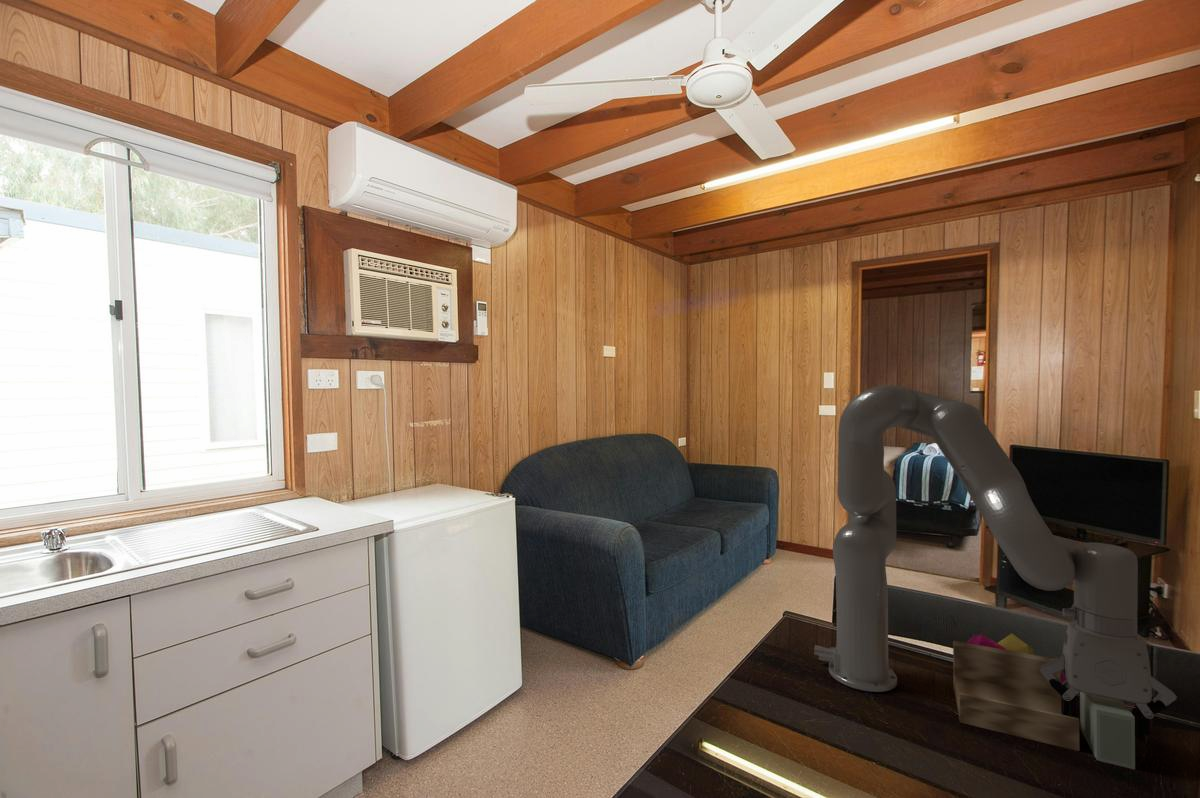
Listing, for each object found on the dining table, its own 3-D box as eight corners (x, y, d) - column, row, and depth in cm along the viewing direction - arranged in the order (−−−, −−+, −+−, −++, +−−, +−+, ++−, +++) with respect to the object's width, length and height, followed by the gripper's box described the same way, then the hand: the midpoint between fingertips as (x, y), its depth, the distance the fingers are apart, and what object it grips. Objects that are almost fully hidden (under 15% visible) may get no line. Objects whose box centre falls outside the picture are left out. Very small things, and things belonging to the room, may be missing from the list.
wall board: (960, 722, 94) (959, 671, 94) (953, 686, 106) (953, 640, 106) (1079, 751, 86) (1078, 695, 86) (1057, 708, 98) (1057, 659, 98)
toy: (1082, 710, 99) (1083, 651, 103) (978, 673, 102) (983, 618, 106) (1044, 703, 108) (1046, 650, 112) (950, 669, 112) (954, 619, 115)
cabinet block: (1097, 760, 84) (1096, 709, 84) (1080, 729, 92) (1079, 683, 92) (1135, 770, 82) (1134, 717, 82) (1114, 737, 90) (1114, 689, 90)
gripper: (1041, 618, 88) (1040, 725, 88) (1191, 643, 80) (1190, 761, 80) (1031, 603, 95) (1031, 703, 95) (1169, 624, 86) (1168, 733, 86)
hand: (1103, 729), depth 87 cm, fingers open, 7 cm apart
